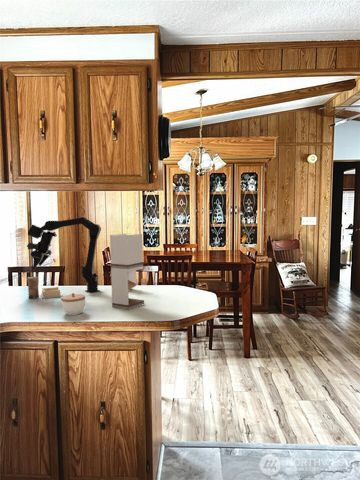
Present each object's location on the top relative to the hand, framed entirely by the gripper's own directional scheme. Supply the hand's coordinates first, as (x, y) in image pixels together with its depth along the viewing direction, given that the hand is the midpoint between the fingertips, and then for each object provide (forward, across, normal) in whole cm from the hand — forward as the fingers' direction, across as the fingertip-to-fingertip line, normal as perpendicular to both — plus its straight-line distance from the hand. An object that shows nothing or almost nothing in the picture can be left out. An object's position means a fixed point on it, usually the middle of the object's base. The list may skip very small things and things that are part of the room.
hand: (36, 266), depth 212 cm
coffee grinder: (-5, +36, +57) cm, 68 cm away
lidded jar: (+3, +47, +35) cm, 59 cm away
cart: (+14, +12, +7) cm, 19 cm away
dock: (+11, +8, +15) cm, 20 cm away
